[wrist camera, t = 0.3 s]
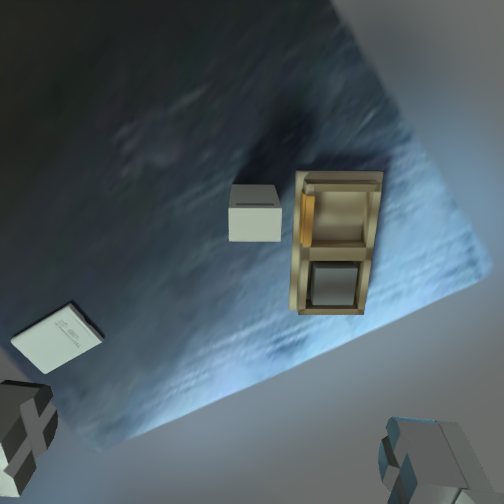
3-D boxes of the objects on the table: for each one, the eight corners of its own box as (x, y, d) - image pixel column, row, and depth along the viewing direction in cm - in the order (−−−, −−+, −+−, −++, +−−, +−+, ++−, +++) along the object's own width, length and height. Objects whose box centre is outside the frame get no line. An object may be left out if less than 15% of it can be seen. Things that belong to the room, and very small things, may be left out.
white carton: (231, 184, 54) (228, 207, 43) (274, 184, 54) (281, 207, 43) (232, 212, 55) (229, 241, 44) (273, 212, 56) (280, 241, 45)
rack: (295, 170, 53) (300, 177, 49) (380, 171, 54) (392, 178, 49) (288, 306, 62) (291, 322, 58) (361, 306, 62) (370, 322, 58)
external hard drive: (15, 335, 64) (72, 301, 61) (49, 368, 66) (105, 337, 64) (9, 341, 62) (67, 306, 60) (45, 375, 65) (101, 343, 63)
